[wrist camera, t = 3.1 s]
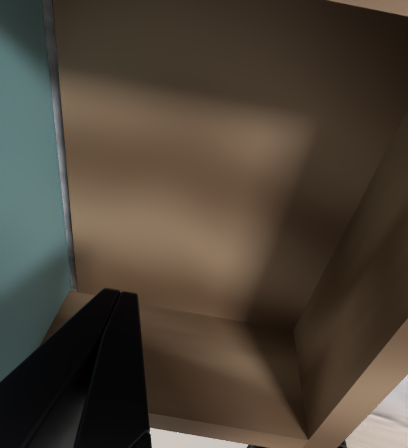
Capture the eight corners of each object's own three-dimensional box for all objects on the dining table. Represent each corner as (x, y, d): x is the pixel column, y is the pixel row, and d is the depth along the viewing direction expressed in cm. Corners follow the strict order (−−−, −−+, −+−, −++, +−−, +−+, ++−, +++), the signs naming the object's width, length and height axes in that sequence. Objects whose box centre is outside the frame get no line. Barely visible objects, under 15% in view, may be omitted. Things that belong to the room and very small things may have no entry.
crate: (306, 332, 19) (327, 457, 14) (61, 288, 19) (-2, 401, 14) (505, -29, 9) (788, -24, 4) (9, -130, 9) (-263, -243, 4)
